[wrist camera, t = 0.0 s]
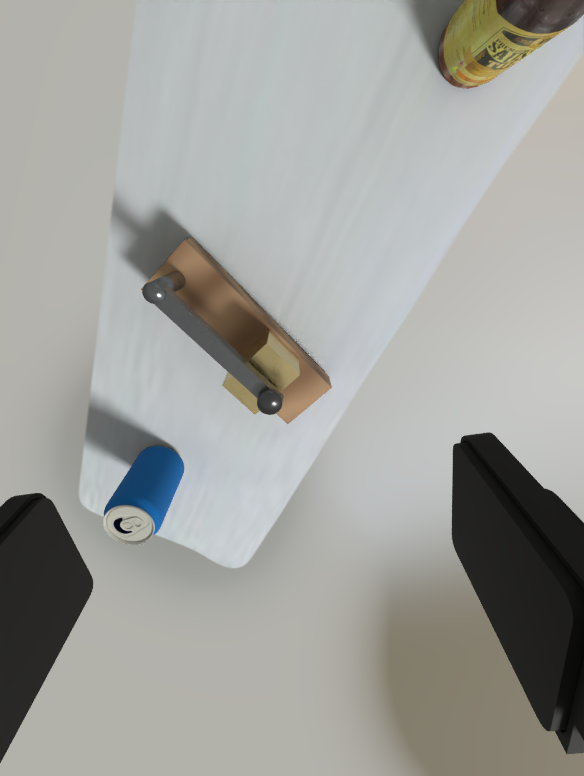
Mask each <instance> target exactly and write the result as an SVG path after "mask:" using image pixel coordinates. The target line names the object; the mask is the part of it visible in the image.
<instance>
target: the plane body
mask: <svg viewBox="0 0 584 776" xmlns="http://www.w3.org/2000/svg"><path fill="white" fill-rule="evenodd" d="M173 271H178V272H180V273H182V274H183V275H184V277H185V280H186V283H185V286H184V287H183V288H182V289H180V290H178V291H177V292H175V293H176V294H177V295H178V296H179V297H180V298H181V299H182V300H184V301H185V302H186V303H187V304H188V305H189V306H190V307H191V308H192V309H193V310H194V311H195V312H196V313H197V314H198V315H199V316H200V317H202V318H203V319H204V320H205V321H206V322H207V323H208V324H209V325H210V326H211V327H212V328H213V329H214V330H215V331H216V332H217V333H218V334H219V335H221V336H222V337H223V338H224V339H225V340H226V341H227V342H228V343H229V344H230V345H231V346H232V347H233V348H234V349H235V350H236V351H237V352H239V353H240V354H241V355H243V354H244V353H245V352H247V351H248V350H249V349H250V348H251V347H252V346H253V345H254V344H255V343H256V342H257V341H258V340H259V339H260V338H261V337H262V336H263V335H264V334H265V333H267V332H268V331H269V330H271V331H272V332H273V333H274V334H275V335H276V336H277V337H278V338H279V339H280V340H281V341H282V342H283V343H284V344H285V345H286V346H287V347H288V348H289V349H290V350H291V351H292V352H293V353H294V354H295V355H296V356H297V357H298V358H299V371H300V376H298V377H297V378H296V379H295V380H294V381H293V382H292V383H290V384H289V385H288V386H287V387H286V388H285V389H284V390H282V391H281V393H282V394H283V395H284V398H283V402H282V408H281V409H280V411H279V412H277V413H276V414H277V415H278V416H279V417H280V418H282V419H283V420H284V421H285V422H286V423H287V424H289V423H290V422H291V421H292V420H293V419H295V418H296V417H297V416H298V415H299V414H301V413H302V412H303V411H304V410H305V409H307V408H308V407H309V406H310V405H311V404H313V403H314V402H315V401H316V400H317V399H319V398H320V397H321V396H322V395H323V394H325V393H326V392H327V391H328V390H329V389H331V388H332V387H331V383H330V379H329V376H328V375H327V374H326V373H325V372H324V371H323V370H322V369H321V368H320V367H319V366H318V365H317V364H316V363H315V362H314V361H313V360H312V359H311V358H310V357H309V356H308V355H307V354H306V353H305V352H304V351H303V350H302V349H301V348H300V347H299V346H298V345H297V344H296V342H295V341H294V340H293V339H292V338H291V337H290V336H289V335H288V334H287V333H286V332H285V331H284V330H283V329H282V328H281V327H280V326H279V325H278V324H277V323H276V322H275V321H274V320H273V319H272V318H271V317H270V316H269V315H268V314H267V313H266V312H265V311H264V310H263V309H262V308H261V307H260V306H259V305H258V304H257V303H256V302H255V301H254V300H253V299H252V298H251V297H250V296H249V295H248V294H247V293H246V292H245V291H244V290H243V289H242V288H241V287H240V286H239V285H238V283H237V282H236V281H235V280H234V279H233V278H232V277H231V276H230V275H229V274H228V273H227V272H226V271H225V270H224V269H223V268H222V267H221V266H220V265H219V264H218V263H217V262H216V261H215V260H214V259H213V258H212V257H211V256H210V255H209V254H208V253H207V252H206V251H205V250H204V249H203V248H202V247H201V246H200V245H199V244H198V243H197V242H196V241H195V240H194V239H193V238H190V237H188V238H187V239H185V240H184V241H183V242H182V243H181V244H180V245H179V246H178V248H177V249H176V250H175V251H174V252H173V253H172V254H171V256H170V257H169V258H168V259H167V260H166V261H165V263H164V264H163V265H162V266H161V267H160V268H159V269H158V271H157V272H156V273H155V274H154V275H153V276H152V277H151V279H150V280H149V281H148V282H151V281H153V280H155V279H157V278H160V277H162V276H164V275H166V274H169V273H171V272H173ZM148 282H147V283H148ZM141 290H143V288H142V289H141Z"/></svg>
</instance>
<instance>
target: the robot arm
mask: <svg viewBox="0 0 584 776" xmlns="http://www.w3.org/2000/svg"><path fill="white" fill-rule="evenodd" d="M452 540H453V544H454V548H455V550H456V553H457V555H458V557H459V559H460V561H461V563H462V565H463V567H464V569H465V571H466V573H467V575H468V577H469V579H470V581H471V583H472V586H473V588H474V590H475V592H476V594H477V596H478V597H479V600H480V602H481V604H482V606H483V608H484V610H485V612H486V614H487V616H488V618H489V620H490V622H491V624H492V626H493V628H494V630H495V632H496V634H497V636H498V638H499V640H500V643H501V645H502V647H503V649H504V650H505V653H506V655H507V657H508V659H509V661H510V663H511V665H512V667H513V669H514V671H515V673H516V675H517V677H518V679H519V681H520V683H521V685H522V687H523V689H524V691H525V693H526V695H527V697H528V700H529V701H530V703H531V706H532V708H533V710H534V712H535V714H536V716H537V718H538V719H539V721H540V723H541V724H542V726H543V727H544V728H545V729H546V730H547V731H555V732H556V734H557V736H558V738H559V740H560V742H561V744H562V746H563V747H564V750H565V751H566V754H575V753H584V523H583V522H582V521H581V520H580V519H579V518H578V517H577V515H576V514H575V513H574V512H572V510H571V509H570V508H569V507H568V506H567V505H566V504H565V503H564V502H563V501H562V500H561V499H560V498H559V497H558V496H557V495H556V494H555V493H554V492H552V491H550V490H548V489H544V488H543V487H542V486H541V485H540V484H539V483H538V482H537V480H536V479H534V477H533V476H532V475H531V474H530V473H529V472H528V471H527V470H526V469H525V468H524V467H523V466H522V464H521V463H520V462H519V461H518V460H517V459H516V458H515V457H514V456H513V455H512V454H511V453H510V452H509V450H508V449H507V448H506V447H505V446H504V445H503V444H502V443H501V442H500V441H499V440H498V439H497V438H496V436H495V435H493V434H492V433H483V434H474V435H467V436H463V437H462V439H461V443H458V444H454V446H453V489H452ZM92 589H93V579H92V576H91V574H90V572H89V570H88V568H87V566H86V565H85V563H84V561H83V559H82V557H81V555H80V553H79V551H78V550H77V548H76V545H75V544H74V542H73V540H72V538H71V536H70V534H69V532H68V530H67V529H66V527H65V525H64V523H63V521H62V519H61V517H60V515H59V513H58V512H57V509H56V507H55V506H54V504H53V502H52V501H51V500H50V499H48V498H46V497H45V496H44V495H43V494H41V493H35V494H26V495H19V496H14V497H11V498H10V499H8V500H7V501H6V502H5V503H4V504H3V505H2V506H1V507H0V763H1V761H2V759H3V757H4V755H5V753H6V752H7V750H8V748H9V746H10V744H11V742H12V740H13V738H14V737H15V735H16V733H17V731H18V729H19V727H20V725H21V724H22V722H23V720H24V718H25V716H26V714H27V712H28V710H29V708H30V707H31V705H32V703H33V701H34V699H35V697H36V695H37V694H38V692H39V690H40V688H41V686H42V684H43V682H44V681H45V679H46V677H47V675H48V673H49V671H50V669H51V668H52V666H53V664H54V662H55V660H56V658H57V656H58V654H59V653H60V651H61V649H62V647H63V645H64V643H65V641H66V640H67V638H68V636H69V634H70V632H71V630H72V628H73V627H74V625H75V623H76V621H77V619H78V617H79V615H80V614H81V612H82V610H83V608H84V606H85V604H86V602H87V600H88V599H89V596H90V595H91V592H92Z"/></svg>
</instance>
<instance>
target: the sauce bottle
mask: <svg viewBox="0 0 584 776" xmlns="http://www.w3.org/2000/svg"><path fill="white" fill-rule="evenodd" d="M583 14H584V0H465V1H464V2H463V3H462V4H461V6H460V7H459V8H458V9H457V10H456V12H455V13H454V15H453V16H452V18H451V20H450V22H449V24H448V26H447V27H446V28H445V30H444V32H443V35H442V37H441V42H440V46H439V56H438V57H439V65H440V69H441V71H442V73H443V76H444V77H445V78H446V80H447V81H448V82H449V83H450V84H452V85H454V86H456V87H461V88H468V89H469V88H472V87H477V86H479V85H482V84H485V83H487V82H489V81H491V80H492V79H493V78H495V77H496V76H498V75H499V74H501V73H502V72H504V71H505V70H507V69H508V68H510V67H511V66H513V65H514V64H516V63H517V62H518V61H520V60H521V59H523V58H524V57H526V56H527V55H529V54H530V53H532V52H533V51H535V50H536V49H538V48H539V47H541V46H542V45H543V44H545V43H546V42H548V41H549V40H551V39H552V38H553V37H555V36H556V35H558V34H559V33H561V32H562V31H564V30H565V29H567V28H568V27H570V26H571V25H572V24H574V23H575V22H576V21H577V20H578V19H579V18H580V17H581V16H582V15H583Z"/></svg>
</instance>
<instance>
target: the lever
mask: <svg viewBox="0 0 584 776" xmlns="http://www.w3.org/2000/svg"><path fill="white" fill-rule="evenodd" d="M185 283H186V280H185V277H184V275H183V274H182V273H180V272H178V271H173V272H171V273H169V274H166V275H164V276H162V277H160V278H157V279H155V280H153V281H151V282H148V283H146V284H145V285H144V287H143V290H142V293H143V296H144V298H145V299H146V300H147V301H148V302H150V303H153V304H155V305H156V306H157V307H158V308H159V309H160V310H161V311H162V312H163V313H164V314H166V315H167V316H168V317H169V318H170V319H171V320H172V321H173V322H174V323H175V324H176V325H178V326H179V327H180V328H181V329H182V330H183V331H184V332H185V333H186V334H187V335H189V336H190V337H191V338H192V339H193V340H194V341H195V342H196V343H197V344H198V345H199V346H201V347H202V348H203V349H204V350H205V351H206V352H207V353H208V354H209V355H210V356H211V357H213V358H214V359H215V360H216V361H217V362H218V363H219V364H220V365H221V366H222V367H223V368H225V369H226V370H227V371H228V372H229V373H230V374H231V375H232V376H233V377H234V378H236V379H237V380H238V381H239V382H240V383H241V384H242V385H243V386H244V387H245V388H246V389H248V390H249V391H250V392H251V393H252V394H253V395H254V396H255V397H256V398H257V406H258V408H259V410H260V411H261V412H263V413H264V414H268V415H272V414H275V413H277V412H279V411H280V409H281V408H282V402H283V398H284V395H283V394H282V393H281V392H280V391H279V390H278V389H277V388H276V387H274V386H273V385H272V384H271V383H270V382H269V381H268V380H267V379H266V378H265V377H264V376H263V375H262V374H261V373H260V372H259V371H258V370H257V369H255V368H254V367H253V366H252V365H251V364H250V363H249V362H248V361H247V360H246V359H245V358H244V357H243V356H242V355H241V354H240V353H239V352H237V351H236V350H235V349H234V348H233V347H232V346H231V345H230V344H229V343H228V342H227V341H226V340H225V339H224V338H223V337H222V336H221V335H219V334H218V333H217V332H216V331H215V330H214V329H213V328H212V327H211V326H210V325H209V324H208V323H207V322H206V321H205V320H204V319H203V318H202V317H200V316H199V315H198V314H197V313H196V312H195V311H194V310H193V309H192V308H191V307H190V306H189V305H188V304H187V303H186V302H185V301H184V300H182V299H181V298H180V297H179V296H178V295H177V294H176V293H175V292H177V291H178V290H180V289H182V288H183V287H184V286H185Z"/></svg>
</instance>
